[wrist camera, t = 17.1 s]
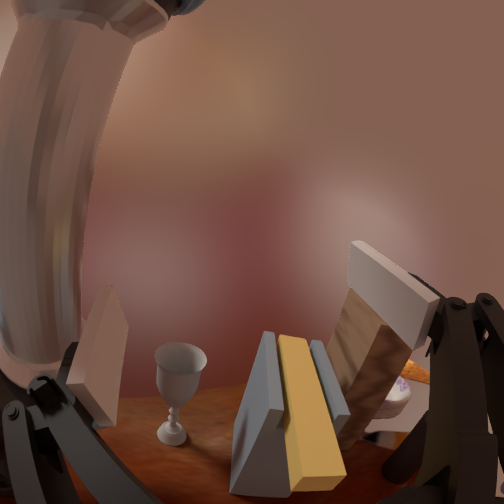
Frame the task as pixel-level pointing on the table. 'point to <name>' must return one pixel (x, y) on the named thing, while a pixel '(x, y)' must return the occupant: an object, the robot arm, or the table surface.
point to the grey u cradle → (274, 422)
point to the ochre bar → (306, 421)
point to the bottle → (407, 454)
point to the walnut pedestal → (364, 364)
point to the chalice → (177, 384)
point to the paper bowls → (394, 400)
